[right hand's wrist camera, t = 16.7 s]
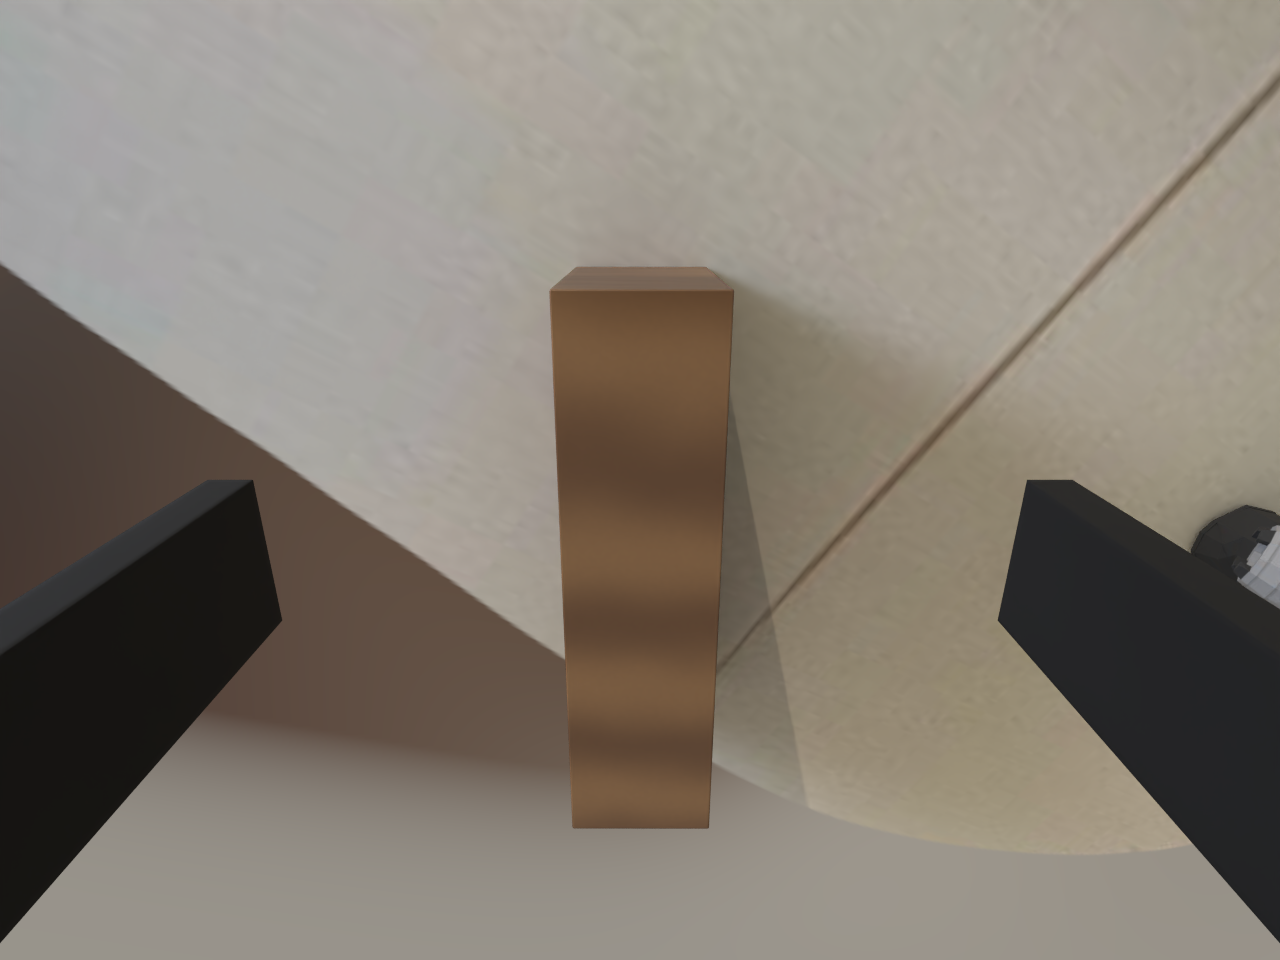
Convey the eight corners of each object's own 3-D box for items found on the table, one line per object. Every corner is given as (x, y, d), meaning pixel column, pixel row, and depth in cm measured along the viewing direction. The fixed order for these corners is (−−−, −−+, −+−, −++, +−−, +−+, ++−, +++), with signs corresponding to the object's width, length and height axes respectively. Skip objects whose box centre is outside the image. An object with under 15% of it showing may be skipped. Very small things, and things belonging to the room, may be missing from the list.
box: (575, 266, 32) (549, 289, 22) (707, 266, 32) (734, 289, 22) (588, 686, 40) (572, 829, 31) (693, 686, 40) (708, 829, 31)
